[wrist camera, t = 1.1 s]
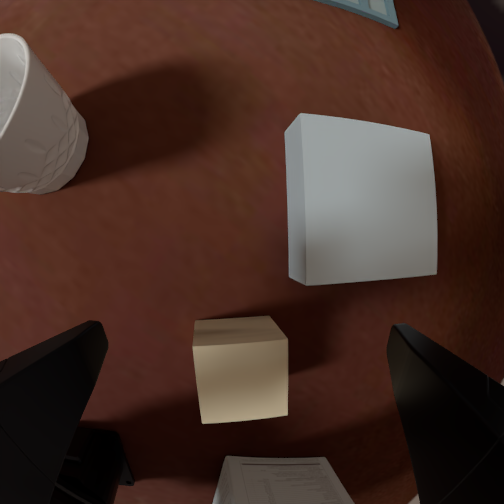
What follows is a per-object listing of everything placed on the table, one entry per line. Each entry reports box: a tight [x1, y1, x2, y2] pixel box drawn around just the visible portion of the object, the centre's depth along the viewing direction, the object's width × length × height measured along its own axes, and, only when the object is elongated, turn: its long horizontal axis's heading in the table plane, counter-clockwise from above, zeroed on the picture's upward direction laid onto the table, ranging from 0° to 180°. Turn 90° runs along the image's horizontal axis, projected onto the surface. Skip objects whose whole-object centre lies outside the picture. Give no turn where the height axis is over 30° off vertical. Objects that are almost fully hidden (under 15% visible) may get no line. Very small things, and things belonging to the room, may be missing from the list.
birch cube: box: [193, 316, 288, 424], centre depth 18 cm, size 5×5×5 cm
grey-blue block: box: [285, 113, 437, 286], centre depth 19 cm, size 10×10×4 cm
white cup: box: [0, 33, 89, 195], centre depth 13 cm, size 8×8×10 cm
